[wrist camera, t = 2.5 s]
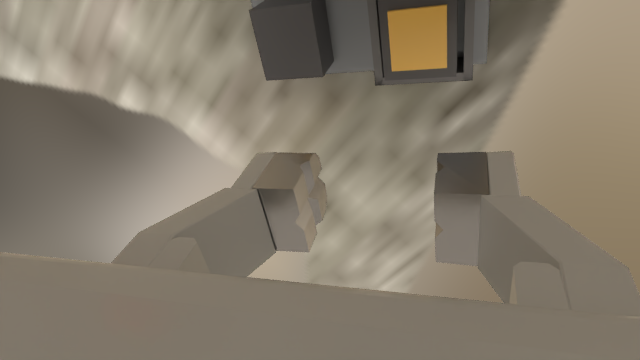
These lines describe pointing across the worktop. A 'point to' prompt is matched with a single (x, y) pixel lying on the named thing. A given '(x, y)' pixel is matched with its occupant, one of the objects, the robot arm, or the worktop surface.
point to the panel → (349, 38)
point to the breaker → (418, 38)
